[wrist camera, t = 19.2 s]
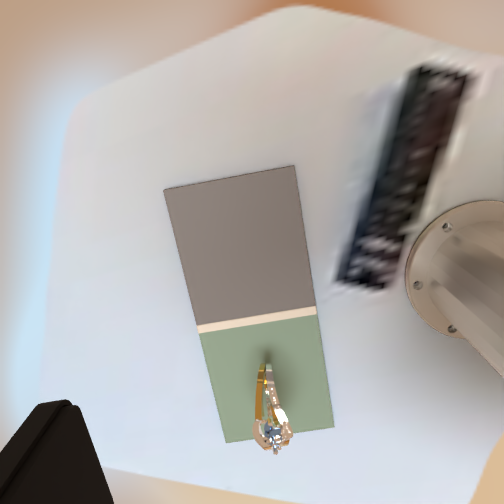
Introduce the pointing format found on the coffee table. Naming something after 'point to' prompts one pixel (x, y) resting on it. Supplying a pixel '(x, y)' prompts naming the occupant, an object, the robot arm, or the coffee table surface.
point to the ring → (269, 414)
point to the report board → (252, 296)
